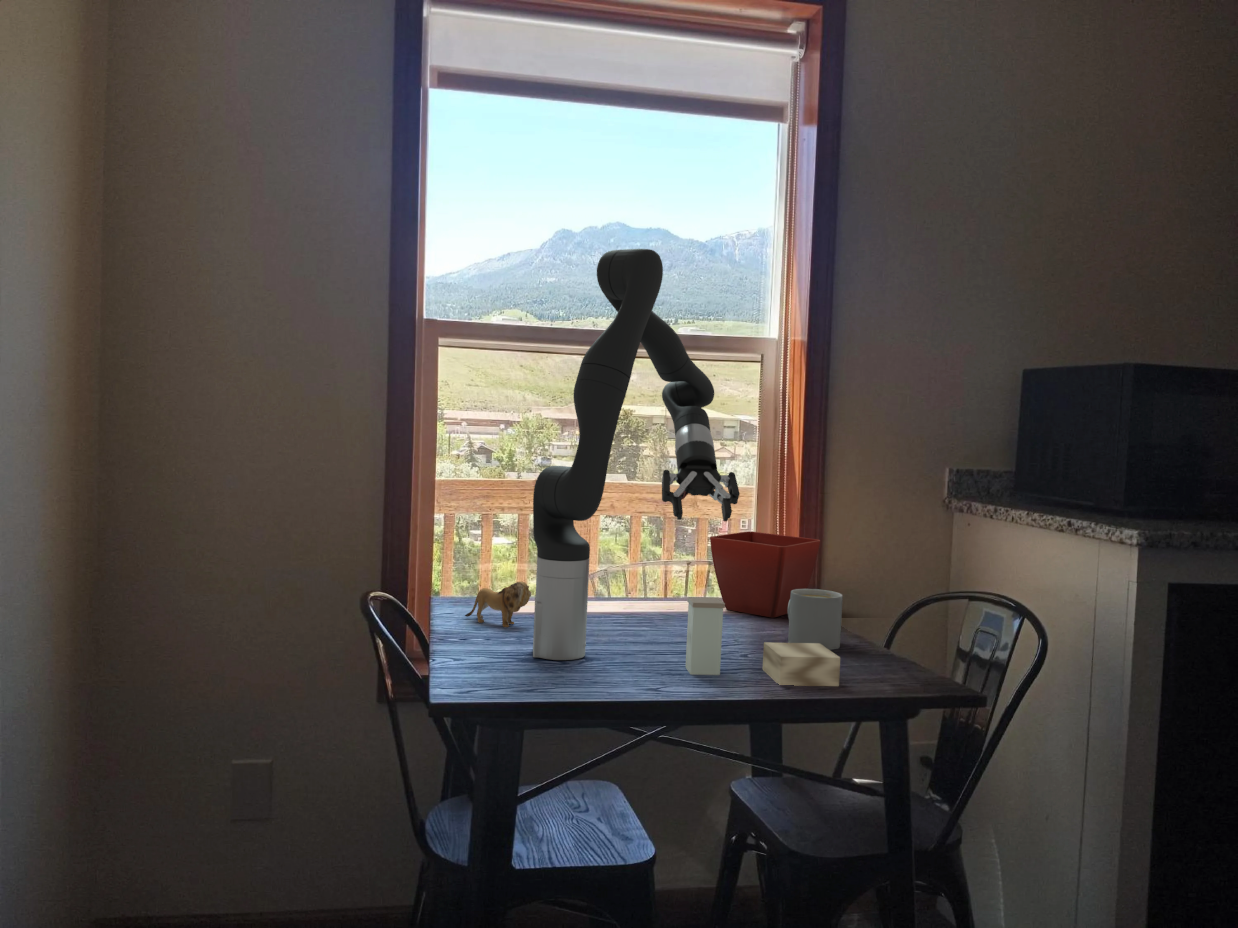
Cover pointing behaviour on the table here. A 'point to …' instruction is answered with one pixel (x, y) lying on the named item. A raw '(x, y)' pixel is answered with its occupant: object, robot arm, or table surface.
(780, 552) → the plant pot
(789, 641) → the coffee mug
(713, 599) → the sage canister
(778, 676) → the maple block
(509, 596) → the lion figurine
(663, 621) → the table surface
